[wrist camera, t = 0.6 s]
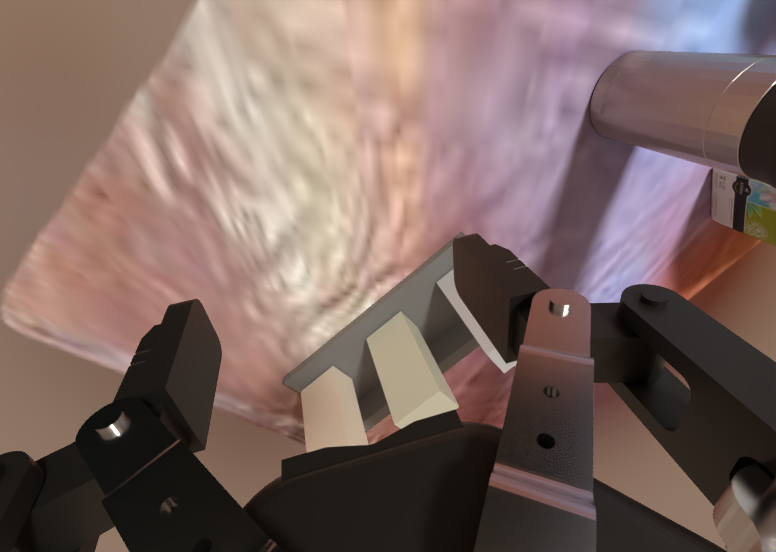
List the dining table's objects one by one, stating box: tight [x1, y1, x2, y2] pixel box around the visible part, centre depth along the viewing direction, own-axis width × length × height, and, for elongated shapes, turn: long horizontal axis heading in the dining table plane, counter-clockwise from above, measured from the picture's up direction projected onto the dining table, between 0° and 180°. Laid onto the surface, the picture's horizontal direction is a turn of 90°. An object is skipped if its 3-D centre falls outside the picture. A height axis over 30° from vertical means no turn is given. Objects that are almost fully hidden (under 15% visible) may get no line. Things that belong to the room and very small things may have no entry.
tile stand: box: [283, 232, 480, 432], centre depth 53 cm, size 13×31×5 cm, turn 128°
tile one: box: [301, 366, 368, 453], centre depth 49 cm, size 4×6×14 cm
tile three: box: [436, 269, 517, 373], centre depth 45 cm, size 4×6×14 cm
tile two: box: [366, 311, 459, 429], centre depth 47 cm, size 4×6×14 cm
